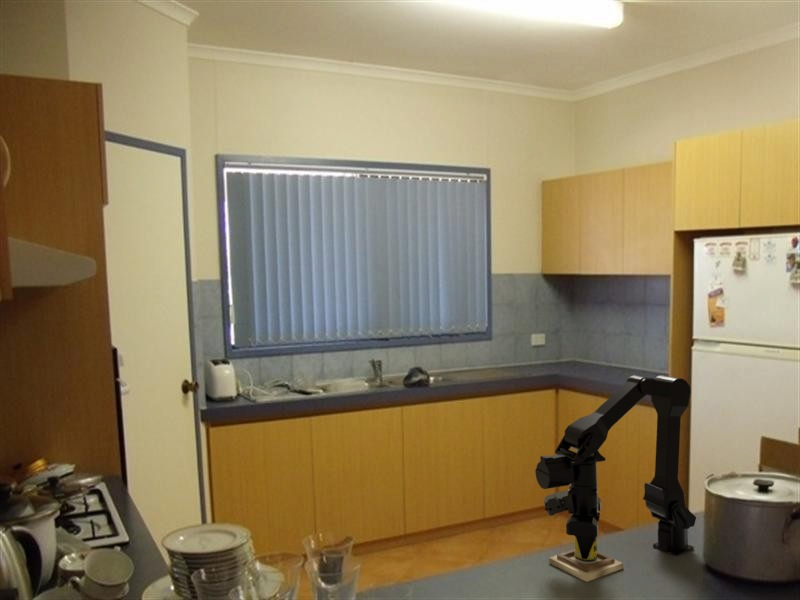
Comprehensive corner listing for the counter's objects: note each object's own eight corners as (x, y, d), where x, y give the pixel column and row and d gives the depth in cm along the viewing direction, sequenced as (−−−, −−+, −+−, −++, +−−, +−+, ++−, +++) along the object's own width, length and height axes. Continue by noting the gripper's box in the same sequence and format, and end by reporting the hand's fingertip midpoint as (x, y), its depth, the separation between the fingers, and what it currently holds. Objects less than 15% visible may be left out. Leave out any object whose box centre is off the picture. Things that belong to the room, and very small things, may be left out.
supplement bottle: (598, 565, 140) (597, 526, 140) (575, 564, 141) (574, 525, 141) (596, 556, 145) (595, 518, 145) (574, 554, 146) (573, 517, 146)
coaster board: (584, 551, 151) (584, 542, 150) (622, 568, 141) (622, 559, 141) (549, 563, 145) (548, 554, 145) (586, 581, 135) (586, 572, 135)
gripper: (550, 467, 154) (552, 533, 154) (540, 493, 136) (542, 567, 137) (600, 470, 150) (601, 537, 151) (596, 497, 133) (598, 573, 133)
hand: (585, 552), depth 143 cm, fingers open, 6 cm apart
